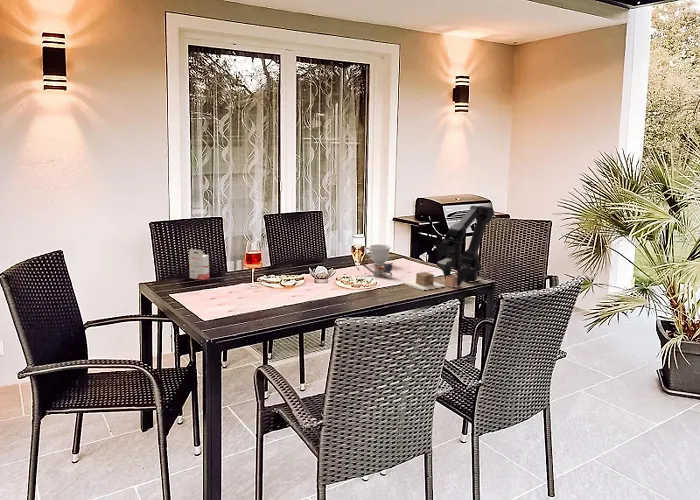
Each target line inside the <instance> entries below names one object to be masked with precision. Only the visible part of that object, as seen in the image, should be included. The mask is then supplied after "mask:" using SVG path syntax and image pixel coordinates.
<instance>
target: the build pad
mask: <svg viewBox="0 0 700 500" xmlns="http://www.w3.org/2000/svg"><path fill="white" fill-rule="evenodd" d="M404 285H405V286H409V287H410V288H414V289H416V290H418V289H419V291H421V290H422V291H421V292H425V291H424V290H427V291H430V290H429V289H433V290H436V289H435V288H439V289H442V288H441V287H445V288H446V286H445V284H442V283H439V282H436V281H434V282H433V285H427V286H422V285H420V284H417V283H416V280H410V281H405V282H404Z"/></svg>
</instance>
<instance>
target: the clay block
mask: <svg viewBox="0 0 700 500" xmlns="http://www.w3.org/2000/svg"><path fill="white" fill-rule="evenodd" d="M457 278H458V276H457V275H456V274H455V275H454V274H450V275H449V276H446V280H445V284H444V285H447V286H446V287H448V286H451V287H455V286H458V285H457Z"/></svg>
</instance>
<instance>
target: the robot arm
mask: <svg viewBox="0 0 700 500" xmlns="http://www.w3.org/2000/svg"><path fill="white" fill-rule="evenodd" d="M494 213H495V211H494V209H493V207H491V206H487V205H486V206H485V205H471V206H470V207H469V209H468V211H467V212H466V213H465V215H464V216H463V217H462V218H460V220H459V221H458V222H457V223H454V224H452V225H451V226H450V227H449V229H447V232H446V234H445V236H444V238H443V240H442V241H441V243H440V244H438V247H437V252H438V254H439V256H443V257H444V256H446V257H445V258H443V259H441V260H438V261H437V262H436V267H438V268H439V270H441V271H442V273H443V275H444V279H445V281H446V276H449V275H451V273H452V269H453V270H456V273H455V275H456V276H458V278H457V285H458V286H460V287H461V285H462V283H463V282H466V281H475V280H476V279H477V280H478V275H479V273H478V272H480V271H481V270H482V268H483V267H482V264H481V262H480V261H479V260H480V255H479V249H480V246H481V243H482V238H483V236H484V233H485V230H486V228H487V227H486V226H487V224H489V223H490V222H491V221H492V218H493V216H494V215H495V214H494ZM474 221H476V223H475V226H474V229H473V233H472V235H471V238H470V242H469V245H468V248H467V249H466V250H462V244H464V243H465V241H464V240H463V239H464V238H465V236H466V235H467V229H468V228H469V227H470V226H471V224H472V223H473V222H474ZM463 280H464V281H463Z"/></svg>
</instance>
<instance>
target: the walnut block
mask: <svg viewBox="0 0 700 500" xmlns="http://www.w3.org/2000/svg"><path fill="white" fill-rule="evenodd" d="M415 277H416V278H415V281H416V283H417V284H420V285H422V286H427V285H433V282H435V281H434V280H435V279H434V277H435V274H433V273H431V272H427V271H424V272H423V271H422V272H417V273H416V276H415Z"/></svg>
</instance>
